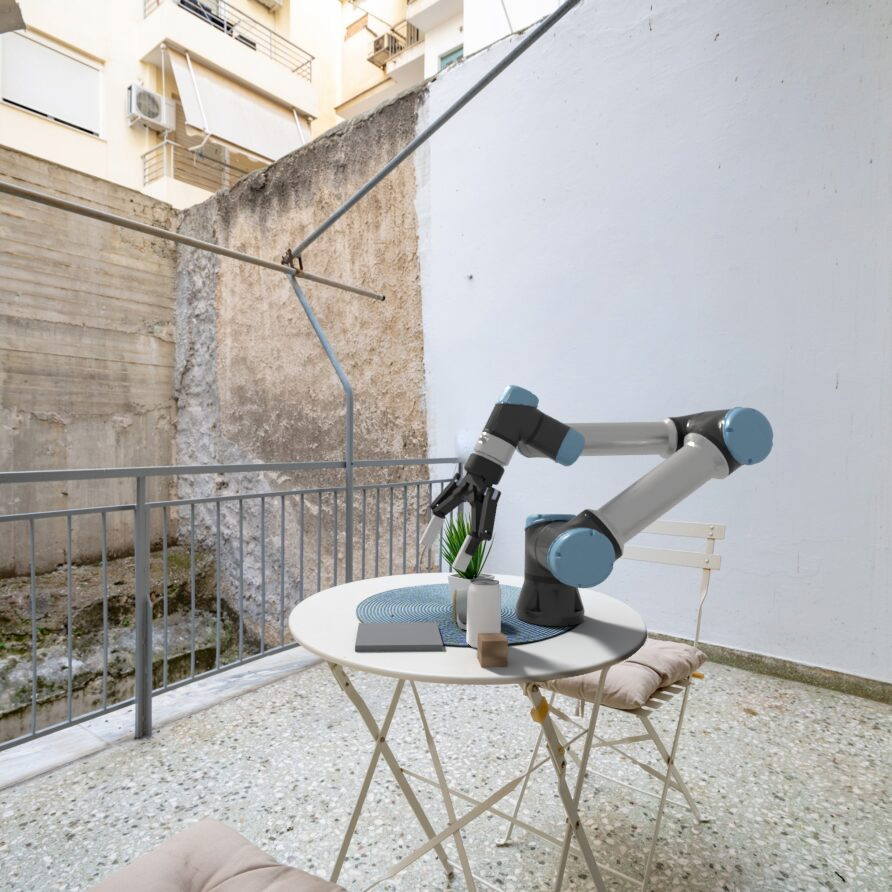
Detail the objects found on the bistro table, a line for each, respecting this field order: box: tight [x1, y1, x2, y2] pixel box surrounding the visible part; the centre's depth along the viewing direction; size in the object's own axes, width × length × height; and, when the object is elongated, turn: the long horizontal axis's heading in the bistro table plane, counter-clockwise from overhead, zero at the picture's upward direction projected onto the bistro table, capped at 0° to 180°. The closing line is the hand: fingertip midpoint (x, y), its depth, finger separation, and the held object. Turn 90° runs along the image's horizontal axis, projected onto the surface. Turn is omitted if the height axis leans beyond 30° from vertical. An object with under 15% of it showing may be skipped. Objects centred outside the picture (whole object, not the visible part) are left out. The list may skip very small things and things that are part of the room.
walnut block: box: [476, 632, 509, 668], centre depth 102 cm, size 4×4×4 cm
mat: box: [354, 621, 444, 652], centre depth 113 cm, size 16×14×1 cm
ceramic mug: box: [452, 587, 468, 630], centre depth 124 cm, size 11×8×8 cm
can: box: [465, 577, 502, 650], centre depth 111 cm, size 6×6×12 cm
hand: (440, 557), depth 114 cm, fingers open, 13 cm apart
